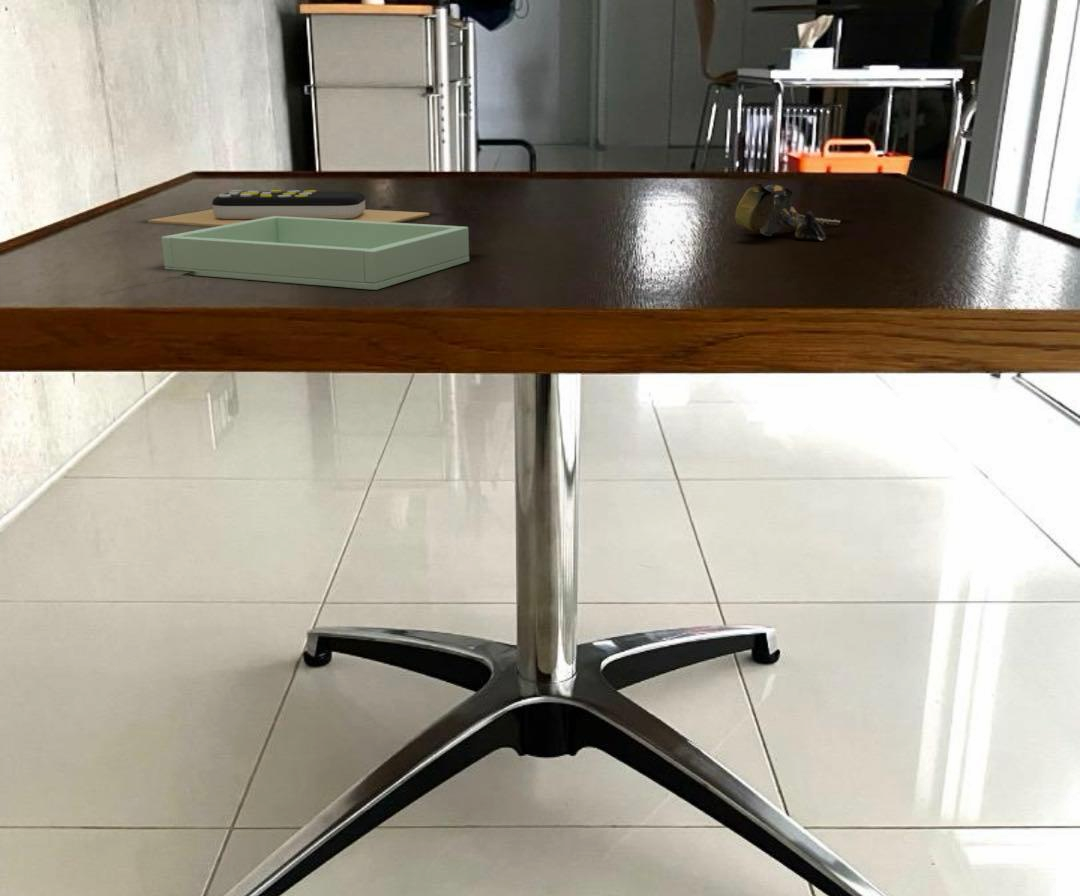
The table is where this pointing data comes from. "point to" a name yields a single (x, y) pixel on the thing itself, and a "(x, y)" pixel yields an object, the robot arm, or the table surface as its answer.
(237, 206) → the remote control
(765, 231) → the regulator
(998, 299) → the table surface
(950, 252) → the table surface
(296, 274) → the tray
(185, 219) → the mat
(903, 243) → the table surface
